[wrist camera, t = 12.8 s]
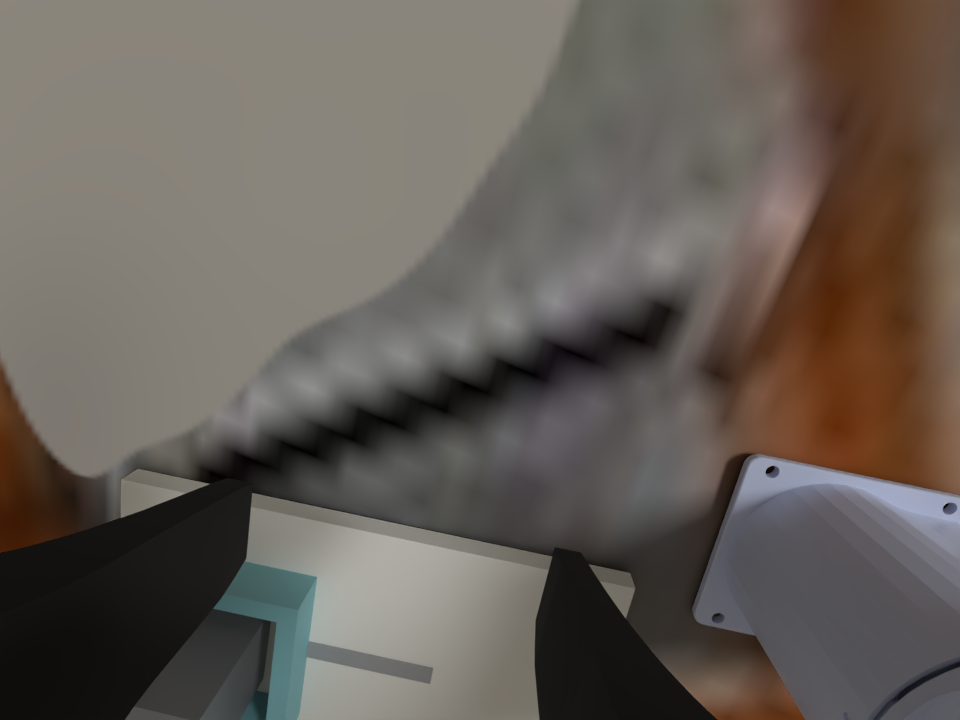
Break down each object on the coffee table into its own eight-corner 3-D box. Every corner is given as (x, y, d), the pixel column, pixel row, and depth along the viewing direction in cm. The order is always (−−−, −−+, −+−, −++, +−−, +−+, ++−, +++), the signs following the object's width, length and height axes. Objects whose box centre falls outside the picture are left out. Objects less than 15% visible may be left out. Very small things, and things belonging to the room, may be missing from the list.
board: (630, 573, 22) (647, 624, 19) (561, 794, 26) (566, 867, 23) (138, 468, 23) (82, 503, 20) (132, 699, 26) (84, 758, 23)
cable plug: (272, 607, 23) (183, 744, 17) (263, 678, 24) (176, 832, 18) (185, 586, 23) (64, 715, 17) (179, 658, 24) (63, 805, 18)
